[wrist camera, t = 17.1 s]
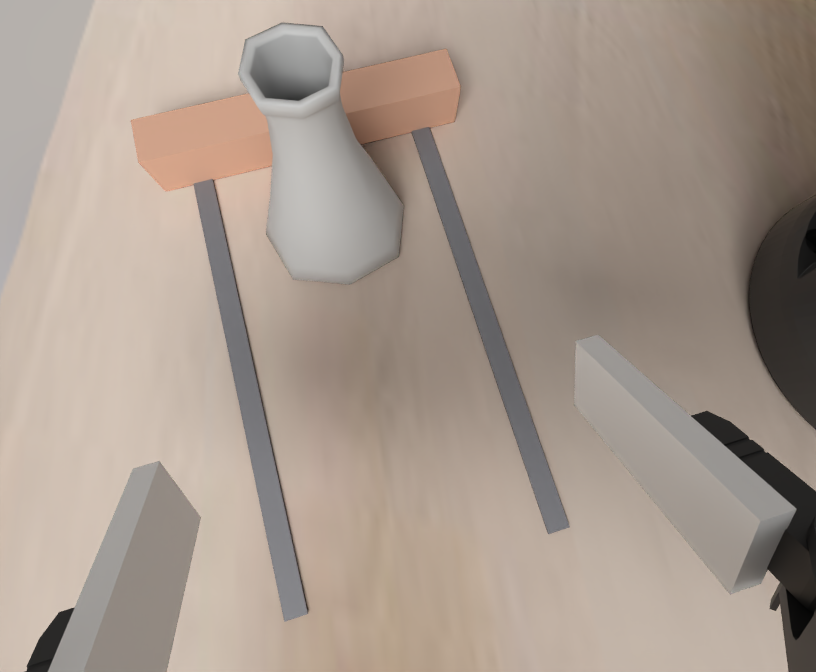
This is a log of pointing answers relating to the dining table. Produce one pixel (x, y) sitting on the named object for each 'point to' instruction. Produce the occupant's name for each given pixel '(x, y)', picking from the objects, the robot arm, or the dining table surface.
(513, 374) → the stop bar lane
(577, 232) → the dining table surface
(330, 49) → the flask
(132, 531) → the robot arm
